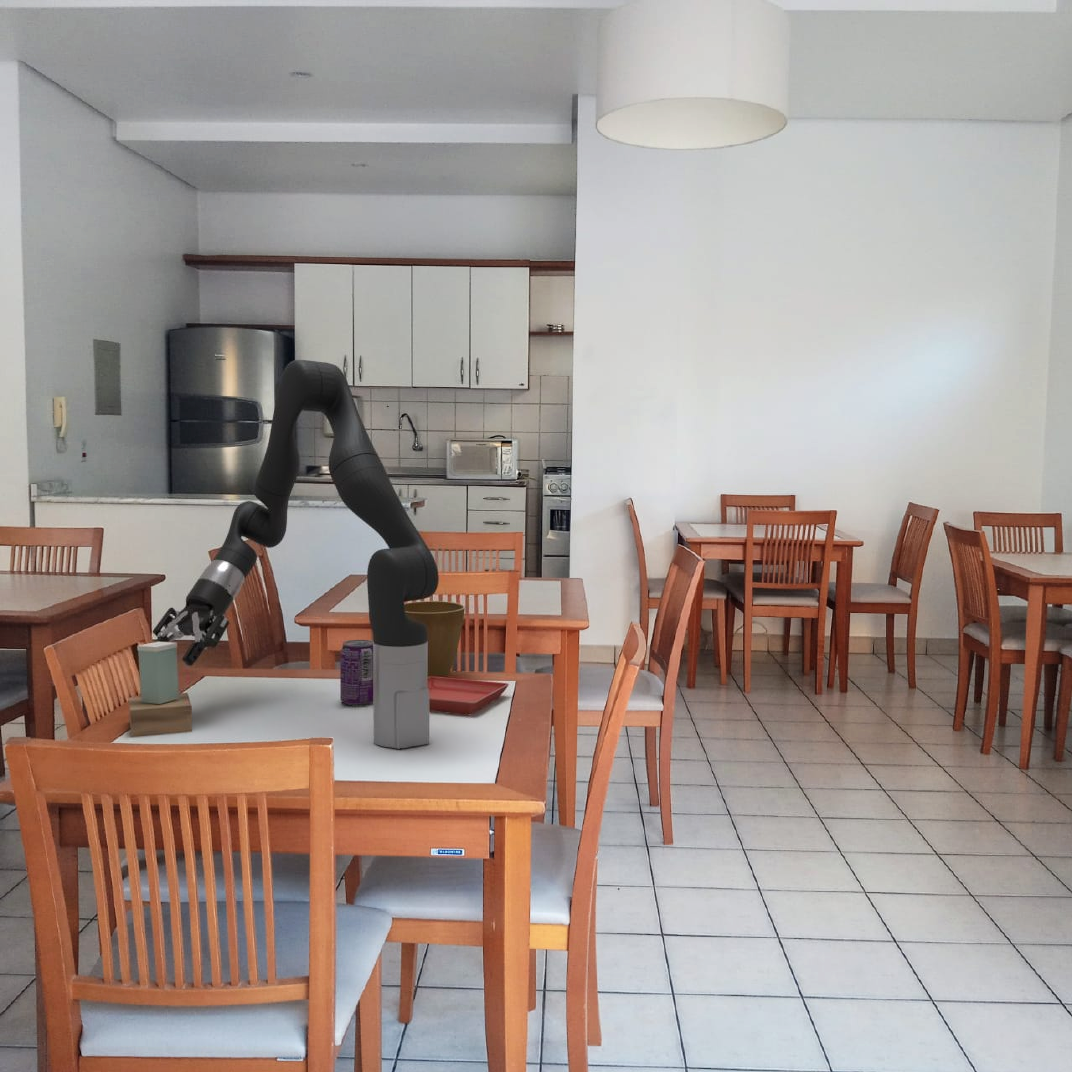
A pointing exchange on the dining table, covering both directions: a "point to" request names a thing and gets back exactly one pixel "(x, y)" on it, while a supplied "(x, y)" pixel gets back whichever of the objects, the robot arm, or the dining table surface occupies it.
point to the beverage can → (356, 672)
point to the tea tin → (158, 672)
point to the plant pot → (439, 632)
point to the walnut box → (160, 716)
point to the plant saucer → (462, 694)
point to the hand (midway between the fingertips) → (169, 660)
